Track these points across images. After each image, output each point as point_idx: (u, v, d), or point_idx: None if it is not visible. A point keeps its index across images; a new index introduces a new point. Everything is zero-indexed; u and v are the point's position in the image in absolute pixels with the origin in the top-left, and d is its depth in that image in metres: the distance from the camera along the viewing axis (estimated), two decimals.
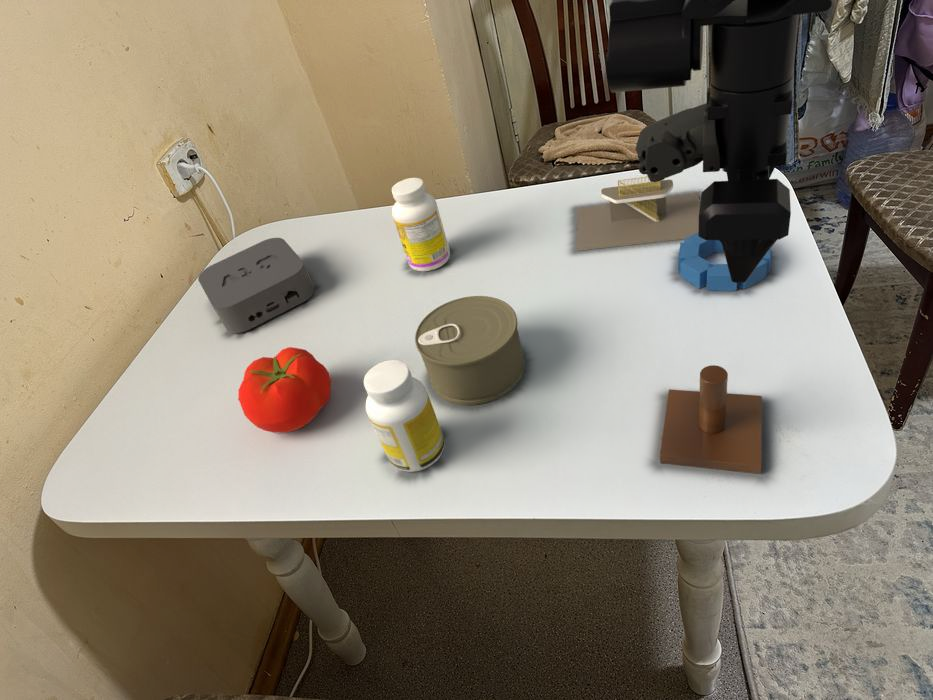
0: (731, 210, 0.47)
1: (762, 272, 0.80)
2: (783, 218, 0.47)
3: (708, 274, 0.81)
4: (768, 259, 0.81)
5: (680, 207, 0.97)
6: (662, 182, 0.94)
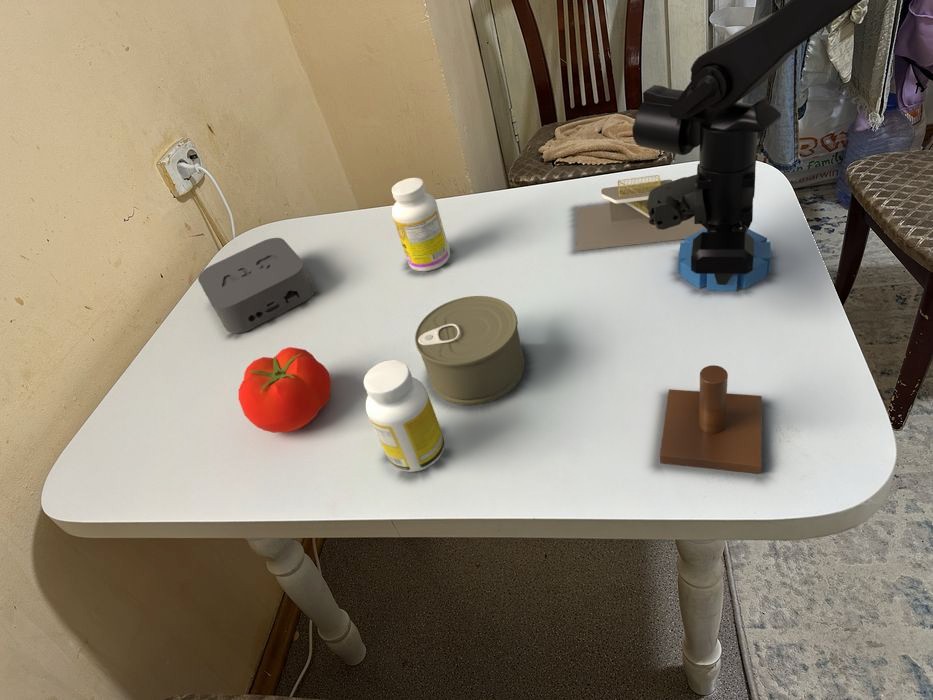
0: (713, 254, 0.69)
1: (762, 272, 0.80)
2: (748, 259, 0.68)
3: (708, 274, 0.81)
4: (768, 259, 0.80)
5: None
6: (662, 182, 0.94)
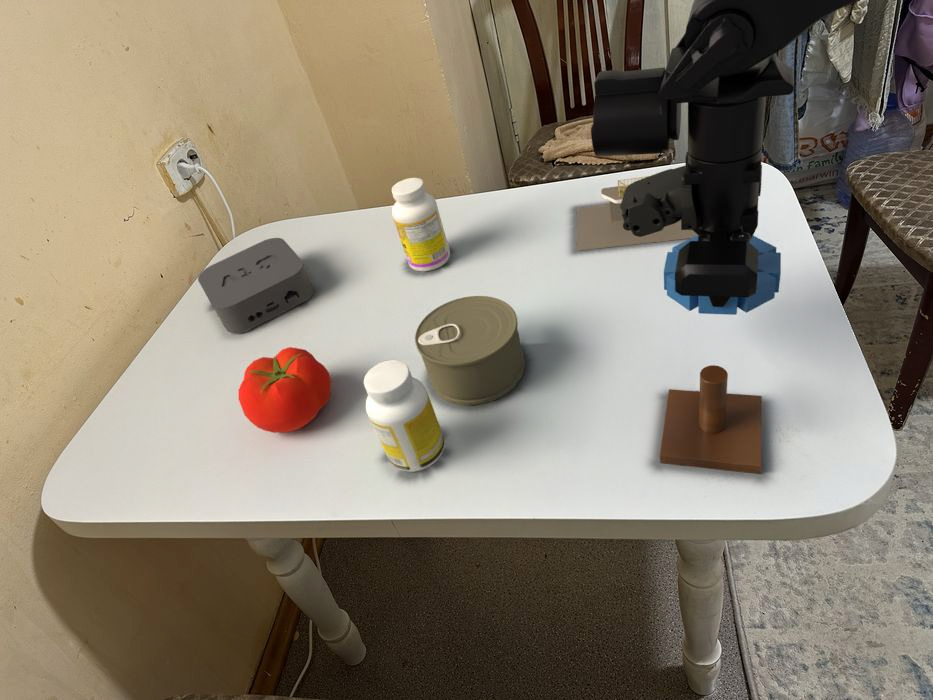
0: (703, 270, 0.52)
1: (769, 291, 0.63)
2: (750, 279, 0.51)
3: None
4: (777, 274, 0.63)
5: None
6: None
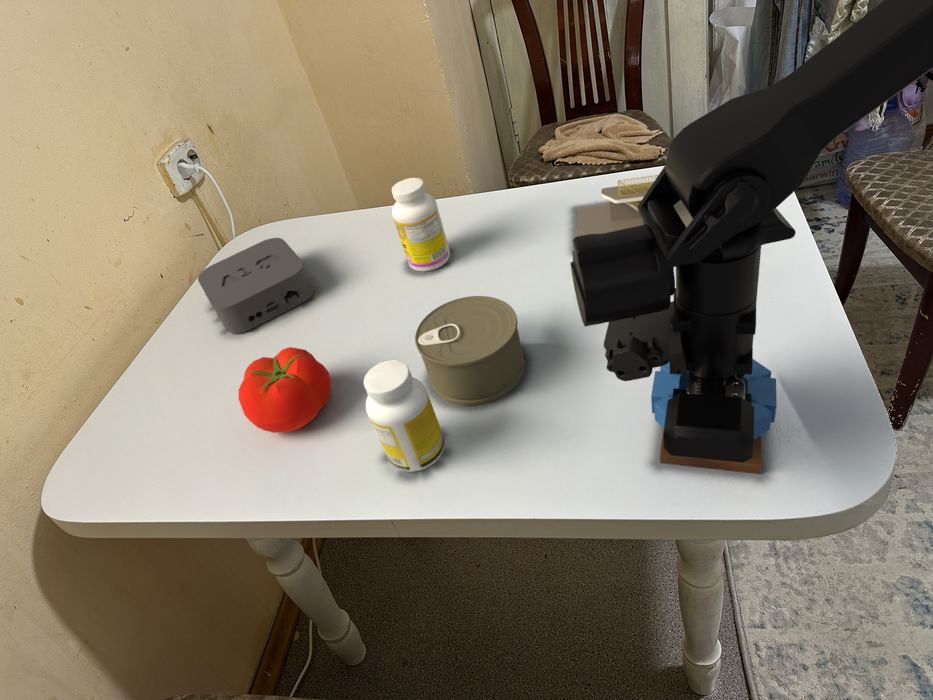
0: (695, 434, 0.47)
1: (765, 425, 0.59)
2: (746, 446, 0.47)
3: None
4: (773, 406, 0.59)
5: (680, 207, 0.97)
6: None
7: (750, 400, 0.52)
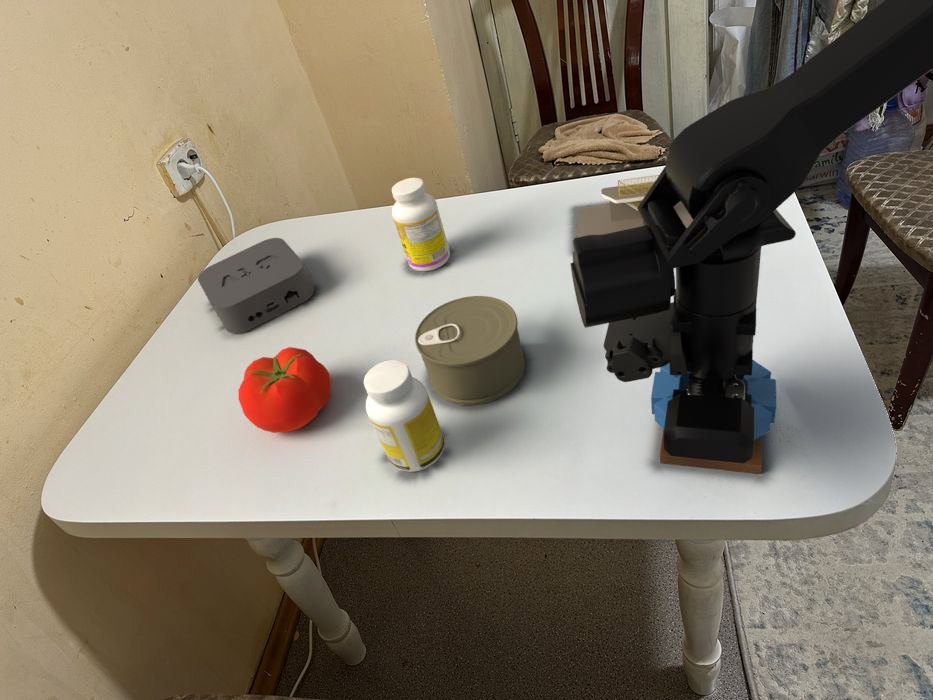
0: (695, 435, 0.47)
1: (765, 425, 0.59)
2: (746, 447, 0.47)
3: None
4: (773, 407, 0.59)
5: (680, 207, 0.97)
6: None
7: (750, 401, 0.52)
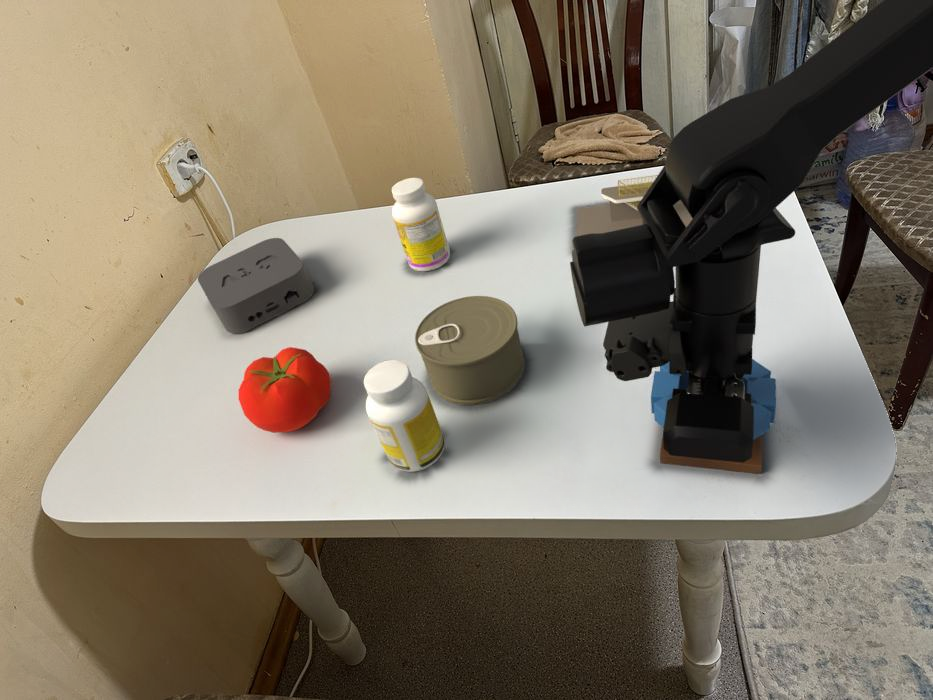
0: (694, 434, 0.47)
1: (764, 425, 0.59)
2: (746, 446, 0.47)
3: None
4: (772, 406, 0.59)
5: (680, 207, 0.97)
6: None
7: (750, 400, 0.52)
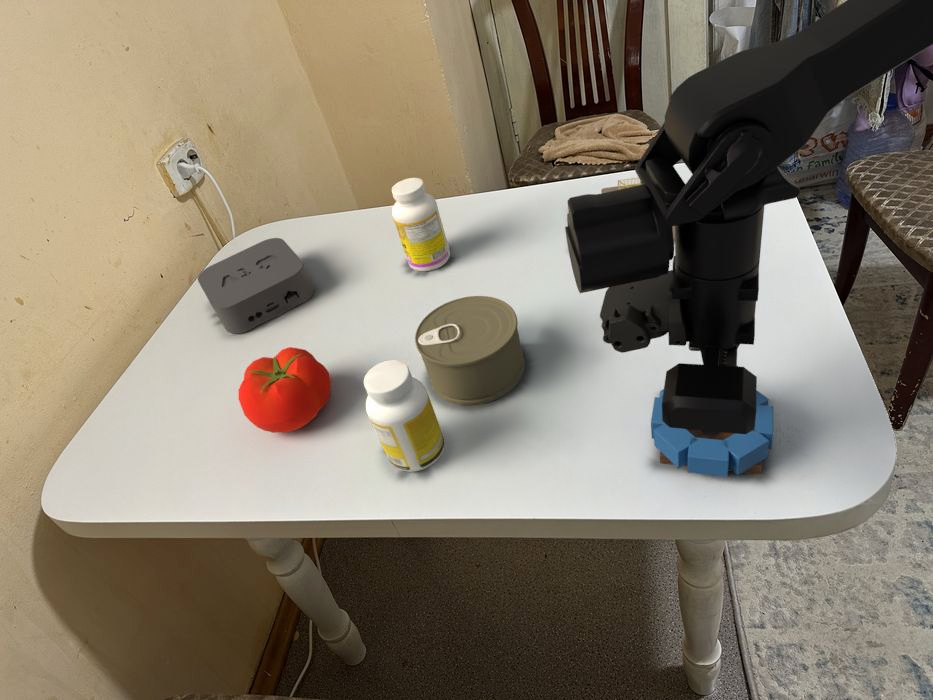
0: (694, 404, 0.45)
1: (762, 452, 0.60)
2: (748, 416, 0.45)
3: (689, 455, 0.60)
4: (770, 435, 0.60)
5: None
6: None
7: None
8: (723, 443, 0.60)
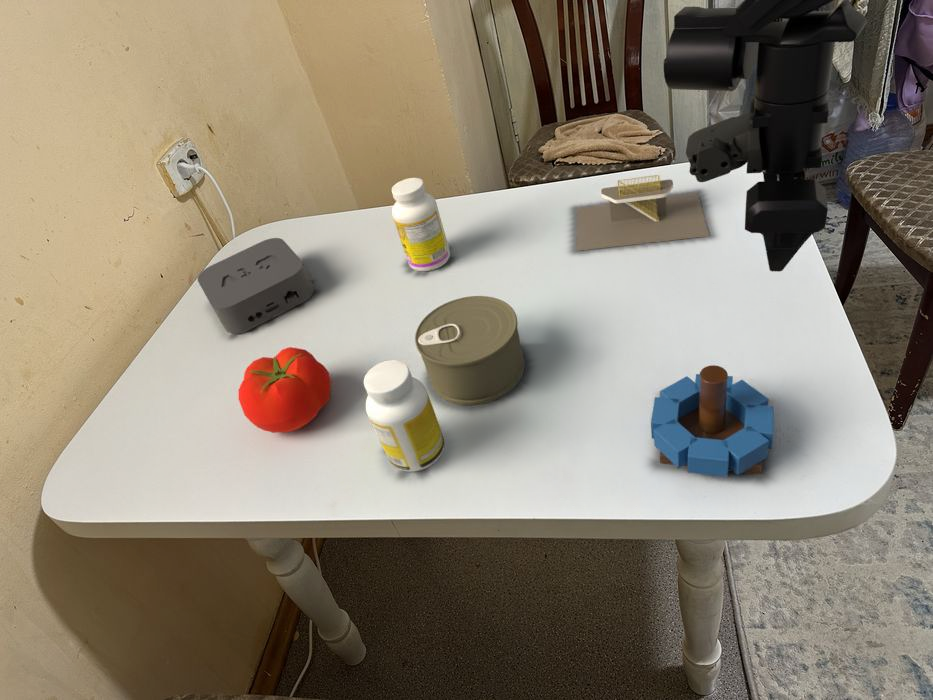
0: (775, 206, 0.55)
1: (762, 452, 0.60)
2: (821, 213, 0.54)
3: (689, 455, 0.60)
4: (770, 435, 0.60)
5: (680, 207, 0.97)
6: (662, 182, 0.94)
7: None
8: (723, 443, 0.60)
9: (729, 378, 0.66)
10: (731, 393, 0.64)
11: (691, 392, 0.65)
